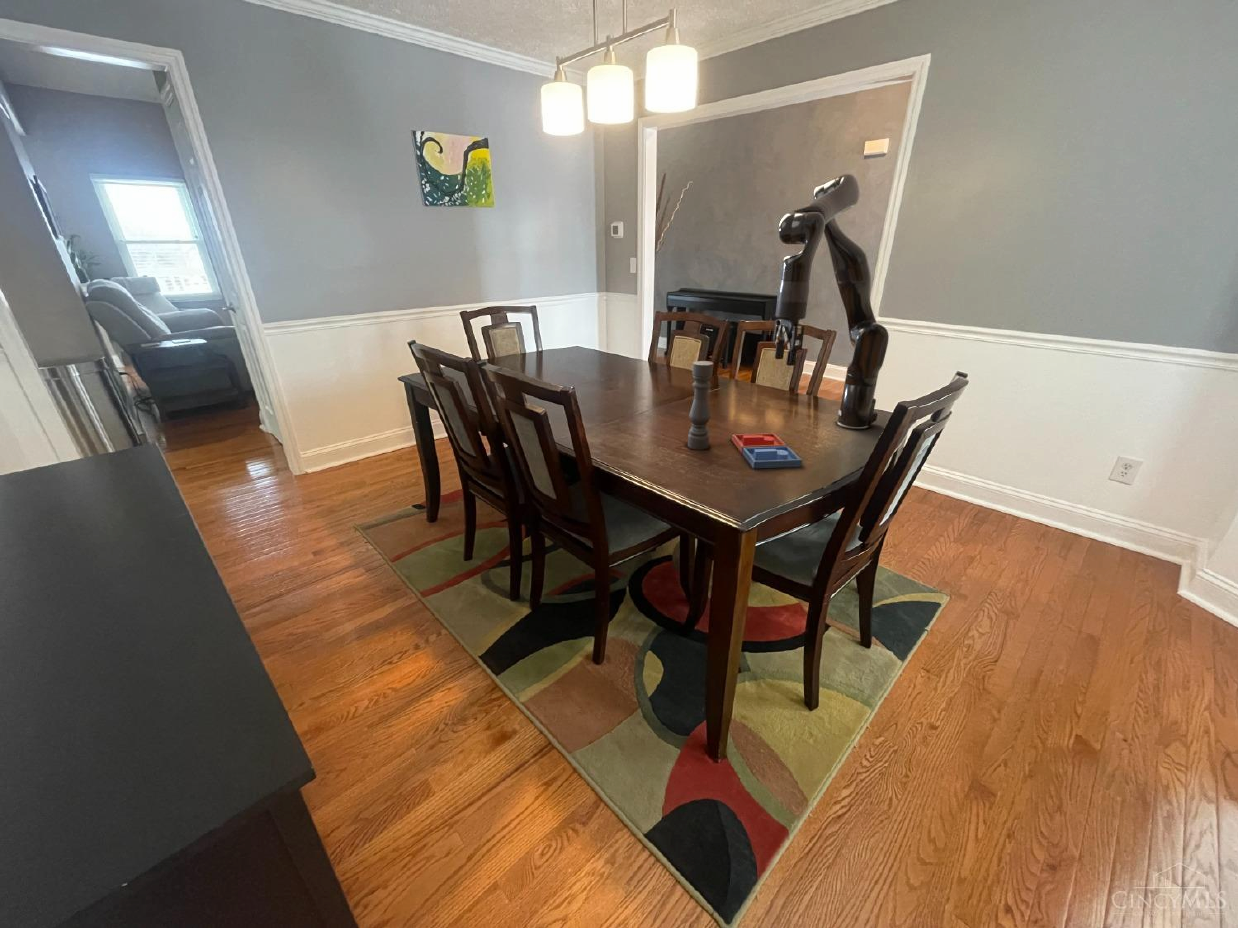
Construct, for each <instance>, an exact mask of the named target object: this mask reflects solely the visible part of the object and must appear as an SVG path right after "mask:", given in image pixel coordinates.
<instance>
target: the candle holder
mask: <svg viewBox="0 0 1238 928" xmlns="http://www.w3.org/2000/svg"><path fill="white" fill-rule="evenodd" d="M713 366H714V363H713V362H712V361H708V360H697V361H693V362H692V372H691V373H692V378H693V380H694V381H693V382H692V387H693V389H694V392H693V393H694V395H693V401H692V404H691V408H690V411H689V415H688V417H689V421H690V422H691V427H690V428H689V431H688V432H689V433H688V435H687V447H688V448H689V449H692V450H699V451H701V450H706V449H708V448H709V443H710V442H709V441H710V440H709V439H710V435H709V429H708V427H707V426H708V423H709V421H710V419H711V412H710V407H709V401H708V400H709V399H708V395H709V389H710V388H711V386H712V384H711V383H710V380H711V378H712V375H713V369H714V367H713Z"/></svg>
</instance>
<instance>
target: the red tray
mask: <svg viewBox="0 0 1238 928" xmlns="http://www.w3.org/2000/svg"><path fill="white" fill-rule="evenodd" d="M747 435H763V436H770V437H773V438H774V445H749V446H743V444H742V438H743V436H747ZM731 441H732V443H733V444H734V445H735V447H736V448H737V449H738V450H739V452H740V453H741V454H742V453H743V448H749V447H781V446H788V445H787V444H786V442H784V441H783V440H782V438H780V437H779V436H778V435H777V434H776V433H775V432H771V433H770V432H767V433H765V432H764V433H737V434H734V433H733V434H732V437H731Z"/></svg>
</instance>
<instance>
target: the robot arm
mask: <svg viewBox="0 0 1238 928" xmlns="http://www.w3.org/2000/svg"><path fill="white" fill-rule="evenodd" d="M859 200H860V186H859V182H858V180H857V178H856V177H855V176H854V175H853V174H852V173H844V174H842V175H839V176H836V177H835V178H832V179H830V180H828V181H826V182H823V183H821V184H819V185H818V186H816V187H815V189H814V191H813V200H811V201H810V202H809V203H808V204H806V205H805V206H804V207H801V208H798V209H795V210H792V211H789V212H788V213H786V214H785V215H784V216H783V217H782V218H781V220H780V222H779V225H778V228H777V229H778V230H777V236H778V238H779V240H780V241H781V242H782V244H785V245H791V246H792V245H804V246H803V248H802V250H801V251H799V252H798V253H795V254H790V255H787V256H785V257H784V258H783V259H782V264H781V271H780V281H779V285H778V291H777V297H776V298H777V299H776V308H775V318H776V319H775V322H774V329H773V337H772V342H774V345H775V353H774V359H775V360H783V359H784V356H785V347H786V346H787V354H786V361H785V365H786V366H789V367H794V366H795V365H796V362H797V354H798V352H799V351H802V350H803V343H804V334H805V326H804V325H800V320H805V318H806V317H807V316H806V315H807V309H808V301H809V293H810V280H811V272H812V264H813V261H814V258H815V255H816V252H817V250H818V246H819V244H820V242H821V240H822V237H823V235H824V237H825V241H826V244H827V248H828V252H829V256H830V260H831V264H832V270H833V275H834V277H835V281H836V285H837V288H838V291H839V296H840V298H841V301H842V304H843V307H844V310H845V314H846V319H847V320H846V322H847V328H848V336H849V341H850V345H852V347H853V348H854V350H853V356H852V360H851V362H850V363H848V365H847V367H846V373H845V379H844V385H843V390H842V395H841V401H840V406H839V409H838V412H837V413H838V417H837V422H836V424H837V425H838V426H840V427H842V428H845V429H848V430H866V429H870V428H871V426H872V424H873V423H875V422H876V421H877V419H878V415H879V413H878V412H875V407H876V402H877V400H876V398H875V393H876V387H877V384H878V383H877V382H878V378H879V373H880V371H881V369H882V367H883V365H884V362H885V358H886V354H887V349H888V345H889V338H890V337H889V331H888V329H887V328H886V327H885V326H884V325H883V324H880V323H878V322H877V321H876V318H875V317H876V316H875V314H874V310H873V308H872V302H871V291H872V290H871V289H872V276H871V275H872V274H871V270H870V265H869V261H868V256H867V254H866V252H865V251H864V249H863V248H862V247H861V246H860V245H859V244H857V243H856V242H855V241H854V240H853V239H851V238H850V237H849V236H848V235H846V234H845V233H844V232H843V230H842V229H841V228H840V226H839V224H838V222H837V219H836V217H837V216H838V215H839V214H842V213H845V212H847V211H849V210H851V209H853V208H854V207H855V206H856V205H858V202H859Z"/></svg>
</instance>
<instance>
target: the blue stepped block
mask: <svg viewBox="0 0 1238 928" xmlns="http://www.w3.org/2000/svg"><path fill="white" fill-rule="evenodd" d="M753 458H754V459H755V460H787V459H788V452H787V451H785V450H776V449H754V456H753Z"/></svg>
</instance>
